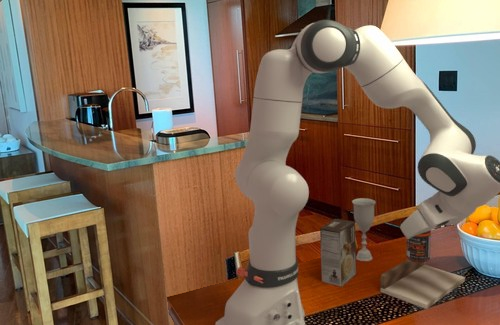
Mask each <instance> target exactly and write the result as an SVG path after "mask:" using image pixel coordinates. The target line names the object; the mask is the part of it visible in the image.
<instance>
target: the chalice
mask: <svg viewBox="0 0 500 325" xmlns="http://www.w3.org/2000/svg"><path fill="white" fill-rule="evenodd" d="M351 202H352V204H353V218H354V222H355V225H357V228H358V229H359V231H361V232H362V236H361V239H362V241H361V243H360V244H361V245H362V248H361V249H359V250H358V251H357V254H356V261H357V260H358V261H361V262H370V261H372V260H373V256H372V254H371V251H370V250H369V249H368V248H366V247H367V244H368V242H367V241H366V240H367V238H368V236H367V235H366V234H367V233H366V232H368V231H369V230H370V228H371V227H372V225H373V222H374V219H375V205H376V202H377V201H376V200H374V199H371V198H364V197H362V198H355V199H353V200H351Z"/></svg>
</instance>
